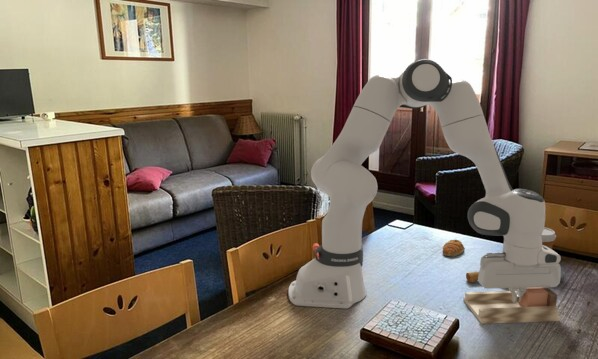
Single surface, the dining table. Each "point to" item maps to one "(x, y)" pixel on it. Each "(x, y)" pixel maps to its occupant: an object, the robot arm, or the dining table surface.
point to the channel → (509, 308)
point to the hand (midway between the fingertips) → (515, 301)
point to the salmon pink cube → (534, 297)
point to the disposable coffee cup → (548, 237)
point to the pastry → (453, 248)
